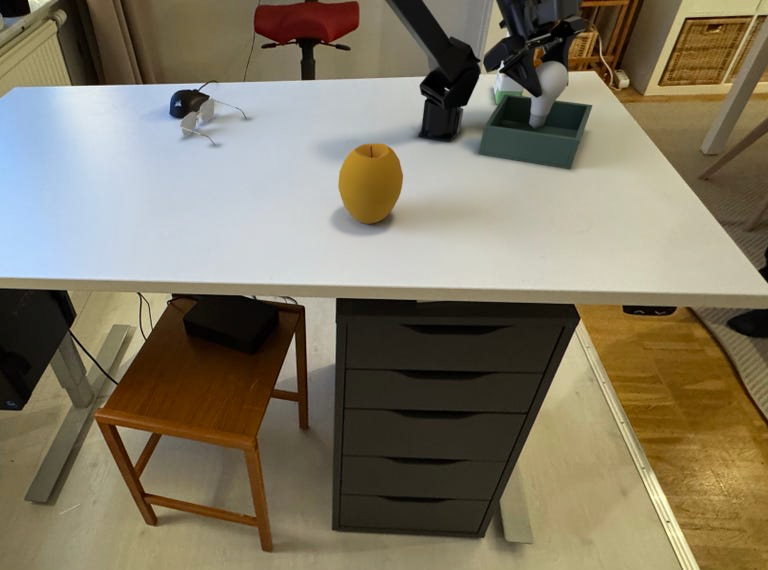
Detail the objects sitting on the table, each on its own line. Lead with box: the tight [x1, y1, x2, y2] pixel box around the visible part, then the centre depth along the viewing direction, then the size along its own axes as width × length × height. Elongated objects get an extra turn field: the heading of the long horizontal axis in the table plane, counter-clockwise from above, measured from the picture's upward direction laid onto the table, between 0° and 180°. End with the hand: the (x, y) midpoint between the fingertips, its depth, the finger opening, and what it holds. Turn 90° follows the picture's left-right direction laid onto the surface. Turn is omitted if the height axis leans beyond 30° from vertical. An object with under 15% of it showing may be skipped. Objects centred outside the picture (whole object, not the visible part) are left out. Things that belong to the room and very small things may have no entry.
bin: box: [478, 94, 593, 170], centre depth 98 cm, size 16×16×5 cm
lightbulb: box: [529, 61, 569, 128], centre depth 94 cm, size 6×6×11 cm
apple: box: [337, 142, 404, 225], centre depth 82 cm, size 10×10×12 cm
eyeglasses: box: [178, 98, 248, 146], centre depth 111 cm, size 14×8×4 cm, turn 155°
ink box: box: [493, 30, 525, 105], centre depth 111 cm, size 9×5×12 cm, turn 168°
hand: (552, 91), depth 92 cm, fingers open, 6 cm apart
